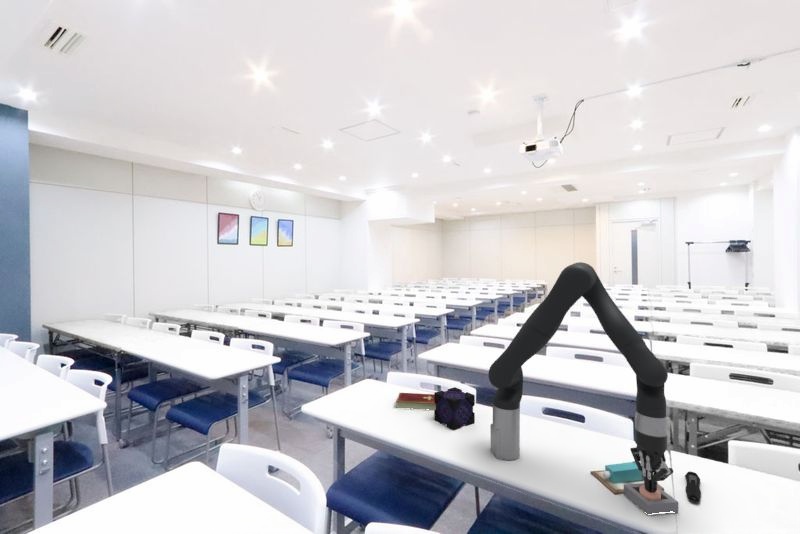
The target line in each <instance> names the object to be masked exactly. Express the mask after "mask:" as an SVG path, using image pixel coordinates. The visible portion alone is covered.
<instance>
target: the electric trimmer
mask: <svg viewBox="0 0 800 534" xmlns="http://www.w3.org/2000/svg"><path fill="white" fill-rule="evenodd" d="M684 477H685V479H686V485H685V492H686V495H687V496H686V497H687V499H688V500H690V501H693V502H696V503H699V502H700V500H701V496H702V491H701V487H700V482H701V479H700V477H699V475H698V474H697V473H696V472H694V471H687V473H686V474H685V475H684Z"/></svg>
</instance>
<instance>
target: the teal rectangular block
mask: <svg viewBox="0 0 800 534" xmlns="http://www.w3.org/2000/svg"><path fill="white" fill-rule="evenodd" d="M640 464H641V463H640ZM604 467H605V468H604V470H605V471H604V472H603V476H604V477H605V478H608V479H609V480H610V481H611V482H612V483H621V482H629V481H637V480H644V475H643V472H642V471H640V470H639V469H638V467H637V465H636V462H635V460H634V461H630V462H622V463H613V464H605V466H604Z"/></svg>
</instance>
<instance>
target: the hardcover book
mask: <svg viewBox="0 0 800 534" xmlns="http://www.w3.org/2000/svg"><path fill="white" fill-rule="evenodd" d="M395 402H396V408H397V407H398V408H413V409H412V410H414V409H429V410H428V411H433V410H436V403H434V393H414V392H413V393H412V392H399V393H398V395H397V398H396V401H395Z"/></svg>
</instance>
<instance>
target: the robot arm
mask: <svg viewBox="0 0 800 534" xmlns="http://www.w3.org/2000/svg"><path fill="white" fill-rule="evenodd" d="M581 298H584V300H585V301H586V302H587V303H588V305H589V306H590V307H591V309H592V311H593V312H594V314H595V315H596V317H597V319H598V321H599V324H600V325H601V327H602V329H603V331H604V332H605V334H606V335H607V337H608V338H609V339H610V341H611V343H613V346H615V348H617V350H618V351H619V352H620V353H621V354H622V356H623V357H624V358H625V360H626V362H627V363H628V365H629V366H630V367H631V369H632V370H633V373H634V374H635V379H636V380H635V381H636V396H635V398H636V399H635V415H634V416H635V417H634V443H635V444H636V446H635V447H630V451H631V455H632V457H633V460H634V461H635V462H636V465H637V467H638V469H639V470H640V471H642V472H643V475H644V485H645V489H646V490H647V491H648V492H650V493H653V492H656V491H657V482H660V481H661V482H663V481H665V480H666V479H667V478H669V477H670V476H671V475H673V473H674V469H673V468H672V467H669V466H668V465H667V463H666V462H667V460H666V456H665V452H666V451H667V450H668V421H667V399H666V395H665V383H666V382H667V380H668V371H667V368H666V366H665V364H664V363H663V361H662V360H661V359H659V358H657V357H656V355H655V354H654V353H653V352H652V350H651V349H650V348H649V347H648V346H647V344H646V342H645V340H644V339H643V337H642V336H641V335H640V333H638V330H636V329H635V327H634V326H633V325H632V323H631V322H630V321H629V319H628V318H627V317H626V316H625V315H624V313H623V312H622V311H621V309H619V307H618V306H617V304H616V303H615V301H614V300H613V298H612V297H611V296H610V295H609V293H608V291H607V290H606V288H605V286H604V284H603V283H602V281H601V279H600V277H599V276H598V274H597V272H596V270H595V268H594V267H593V266H592V265H590V264H588V263H585V262H581V261H580V262H579V261H578V262H575V263H571V264H569V265H568V266H566V267H564V269H562V271H561V272H560V274H559V276H558V277H557V279H556V280H555V282H554V284H553V286H552V288H551V289H550V291H549V293H548V295H546V297H545V298H544V299H543V300H542V301H541V303H539V305H537V307H536V308H535V309H534V310H533V311H532V313H531V314H530V315H529V317H528V318H527V320H525V322H524V323H523V324H522V326H521V327H520V329H519V331H518V332H517V333H516V334H515V336H514V337H513V339H512V340H511V341H510V343H509V345H508V346H507V348H506V349H505V350H504V351H503V352H502V353H501V355H499V357H498V358H496V359H495V361H494V362H492V364H491V365H490V367H489V370H488V381H489V383H490V384H491V385H492V386H493V387H495V388H497V390H496V391H495V392H494V394H493V396H492V423H490V451H491V452H492V454H493V455H494V457H495V458H496V459H500V460H506V461H514V460H517V459H519V458H520V454H521V453H520V452H521V450H520V449H521V448H520V446H521V445H520V443H521V439H520V438H521V437H520V436H521V435H520V431H521V428H520V425H521V424H520V423H521V417H520V416H521V412H520V411H521V410H520V409H521V406H520V405H521V401H522V399H523V389H524V387H523V386H524V373H523V368H522V366H523V365H524V364H525V363H526V362H528V361H529V360H530V359H531V358H532V357H533V356H534V357H535V355H537V354H538V352H540V351H541V350H542V349H544V348H545V347H546V345H547V344H549V341H550V340H551V339H552V338H553V337H554V335H555V334H556V333H557V332H558V330H559V329H560V326H561V324H562V323H563V320H564V318H565V316H566V314H567V313H568V312H569V310H570V309H571V308H572V307H573V306H574V305H575V304H576V303H577V302H578V301H579V299H581ZM640 463H641V464H640Z"/></svg>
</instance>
